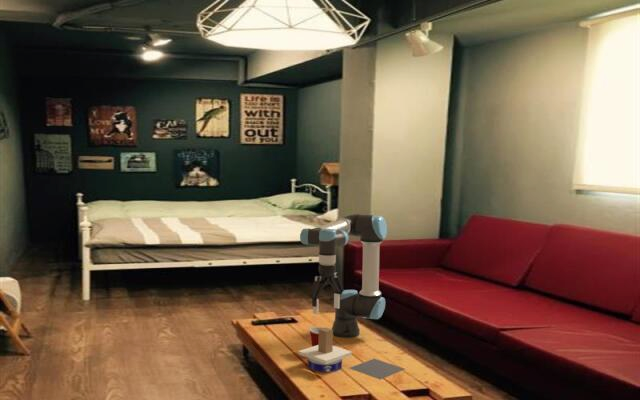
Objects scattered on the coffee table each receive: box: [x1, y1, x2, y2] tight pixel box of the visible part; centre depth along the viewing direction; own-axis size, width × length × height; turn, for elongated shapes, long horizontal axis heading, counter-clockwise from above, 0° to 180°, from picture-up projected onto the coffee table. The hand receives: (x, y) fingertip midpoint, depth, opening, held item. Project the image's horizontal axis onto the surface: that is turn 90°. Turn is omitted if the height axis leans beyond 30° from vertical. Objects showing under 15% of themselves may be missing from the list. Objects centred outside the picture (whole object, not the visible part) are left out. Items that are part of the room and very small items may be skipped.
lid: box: [298, 327, 353, 364], centre depth 259 cm, size 17×17×12 cm
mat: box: [349, 358, 406, 380], centre depth 258 cm, size 18×18×1 cm
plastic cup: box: [308, 326, 324, 347], centre depth 277 cm, size 11×11×12 cm
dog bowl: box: [307, 358, 343, 373], centre depth 260 cm, size 15×15×6 cm
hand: (326, 310), depth 258 cm, fingers open, 13 cm apart
